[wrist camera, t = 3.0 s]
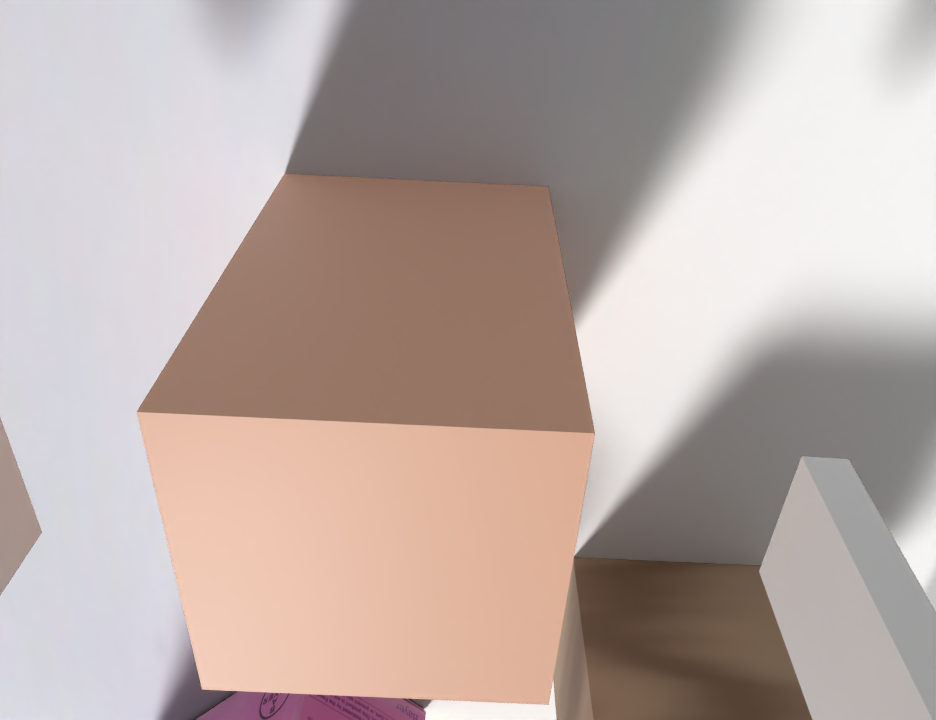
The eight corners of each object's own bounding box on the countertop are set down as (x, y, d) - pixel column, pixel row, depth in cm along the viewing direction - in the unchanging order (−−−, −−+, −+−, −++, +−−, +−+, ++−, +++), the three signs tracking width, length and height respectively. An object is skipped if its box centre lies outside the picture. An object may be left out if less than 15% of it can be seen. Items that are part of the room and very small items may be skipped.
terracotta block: (303, 388, 21) (201, 689, 13) (285, 173, 18) (136, 412, 10) (526, 398, 21) (548, 704, 14) (548, 186, 18) (595, 433, 10)
